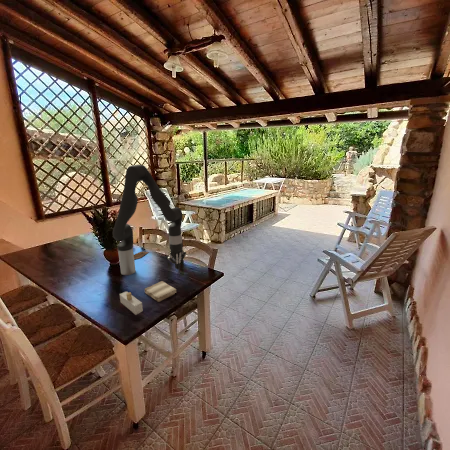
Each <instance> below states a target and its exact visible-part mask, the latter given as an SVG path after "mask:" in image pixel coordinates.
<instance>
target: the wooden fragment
mask: <svg viewBox="0 0 450 450" xmlns="http://www.w3.org/2000/svg"><path fill="white" fill-rule="evenodd" d="M147 254H149V251H139V252H137V253H134V260H137V259H142V258H143V257H144V256H146V255H147ZM119 265H120V262H119Z"/></svg>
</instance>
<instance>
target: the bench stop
mask: <svg viewBox="0 0 450 450" xmlns="http://www.w3.org/2000/svg"><path fill="white" fill-rule="evenodd" d="M119 299H120V300H119V301H120V303H121V304H122V305H123V306H124V307H125V308H127V309H128V310H129V311H130V312H131V313H133V314H134V315H135V316H137V315H139V314H140V313H143V311H144V309H143V302H142V301H140V300H139V299H137V298H136V297H135V296H134V295H132V292H128V291H124V292H122V293H119Z"/></svg>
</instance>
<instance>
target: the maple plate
mask: <svg viewBox="0 0 450 450" xmlns="http://www.w3.org/2000/svg"><path fill="white" fill-rule="evenodd" d="M144 293H145V294H146V295H148V296H149V297H151V298H152V299H154V300H155V301H156V302H157V303H160V302H162V301H163V300H166V299H168V298H170V297H172V296H173V295H175V293H176V294H177V289H176V288H175V287H173V286H171V285H169V284H168V283H166V282H165V281H163V280H161V281H159V282H157V283H155V284H152V285H150V286H148V287H146V288H144Z"/></svg>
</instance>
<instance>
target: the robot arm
mask: <svg viewBox="0 0 450 450" xmlns="http://www.w3.org/2000/svg"><path fill="white" fill-rule="evenodd" d="M124 177H125V178H124V185H123V191H122V192H123V193H122V196H121V200H120V204H119V209H118V213H117V218H116V220H115V223H114V227H112V228H113V230H112V237H113V239H114V240H115V241H117V242H118V241H119V244H117V253H118V258H119V259H118V260H119V261H118V262H119V263H120V264H119V266H120V274H121V275H123V276H131V275H133V274H135V273H136V264H135V263H136V262H135V259H134V255H135V253H134V234H133V233H134V232H133V228H132V226H131V225H130V224H128V222H129V221H130V220H131V218H132V217H133V215H134V214H135V213H136V210H137V207H138V203H139V202H138V197H137V194H136V188H137V185H138V182H143V183H144V184H145V185H146V186H147V188H148V190H149V194H150V197H151V199H152V201H153V202H154V203H155V204H156V205H157V207H158V208H159V210H160V211H161V213H162V216H163V218H164V219H165V220H166V221H168V222H170V224H169V226H168V242H169V250H170V253H169V256H166V259H167V260H168V261H169V262H170V263H172V264H173V265H174V267H175V269H176V270H180V269H181V262H183V261H184V259H185V257H186V254H187V251H184V249H183V248H184V247H183V236H182V224H183V212H182V209H181V208H179V207H177V206H175V207H171V206H170V205H171V201H170V198H169V197H168V196H167V195H166V194H165V193H164V191H162V189H161V188H160V187H159V186H158V184H157V182H156V181H155V179H154V177H153V176H152V175H151V173H150V171H149V170H148V168H147V167H146V166H145V165H143V164H134V165H133V164H132V165H130V166H128V167H127V168H126V171H125V176H124Z"/></svg>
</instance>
